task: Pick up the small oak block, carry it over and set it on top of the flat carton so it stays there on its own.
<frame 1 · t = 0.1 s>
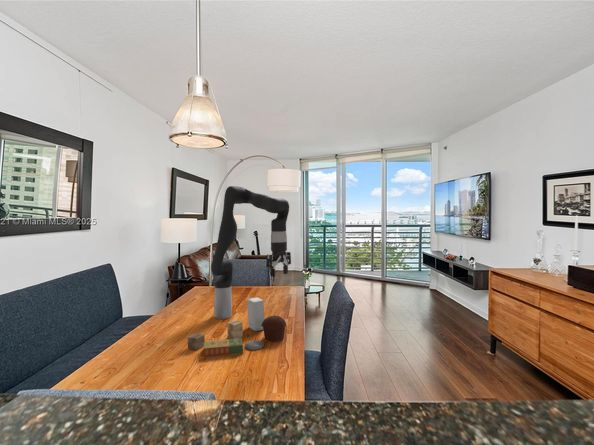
hand: (279, 275, 147), 29 cm above the table, tool pointing down, fingers open, 8 cm apart
grey disc: (254, 346, 137), on the table
walnut block: (196, 347, 137), on the table
carton: (223, 353, 132), on the table
skincare box: (256, 328, 159), on the table
muffin: (274, 338, 146), on the table
oak block: (235, 337, 147), on the table
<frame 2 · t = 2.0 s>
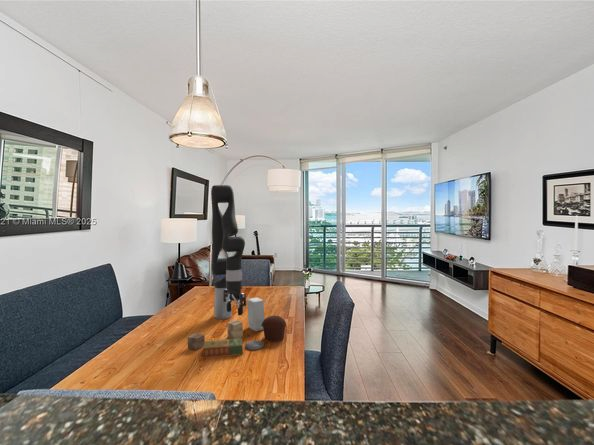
hand: (234, 313, 147), 11 cm above the table, tool pointing down, fingers open, 8 cm apart
nothing on the table moved.
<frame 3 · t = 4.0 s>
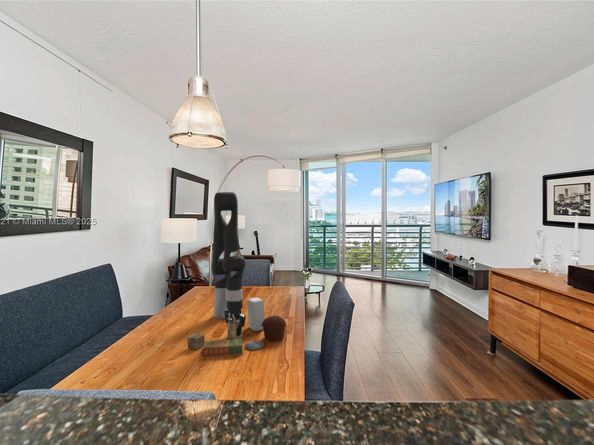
hand: (235, 333, 147), 1 cm above the table, tool pointing down, fingers closed on oak block, 5 cm apart
oak block: (235, 337, 147), on the table, touching gripper
everything else where it was.
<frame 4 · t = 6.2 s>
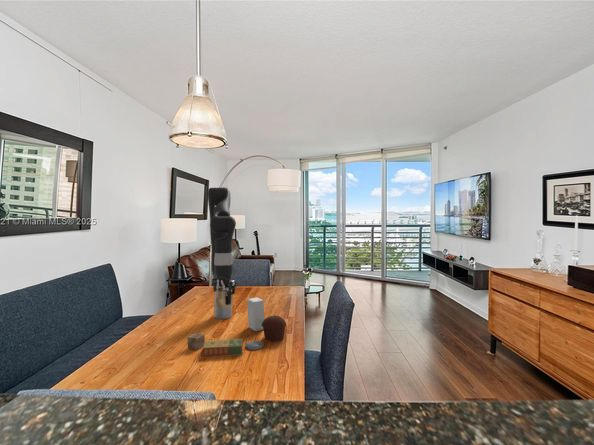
hand: (224, 303, 132), 20 cm above the table, tool pointing down, fingers closed on oak block, 5 cm apart
oak block: (224, 306, 132), point 19 cm above the table, touching gripper
everything else where it was.
when the fingers open (6 cm above the table, at t = 8.6 s): oak block drops 1 cm, resting on carton.
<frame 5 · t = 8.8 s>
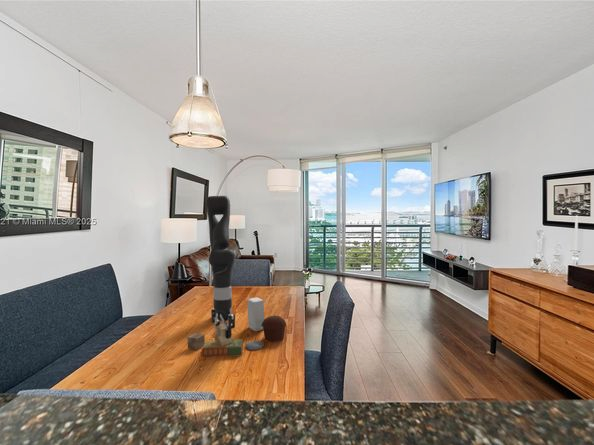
hand: (223, 335, 132), 7 cm above the table, tool pointing down, fingers open, 6 cm apart
carton: (223, 353, 132), on the table, touching oak block
oak block: (223, 342, 132), point 4 cm above the table, touching carton
everything else where it was.
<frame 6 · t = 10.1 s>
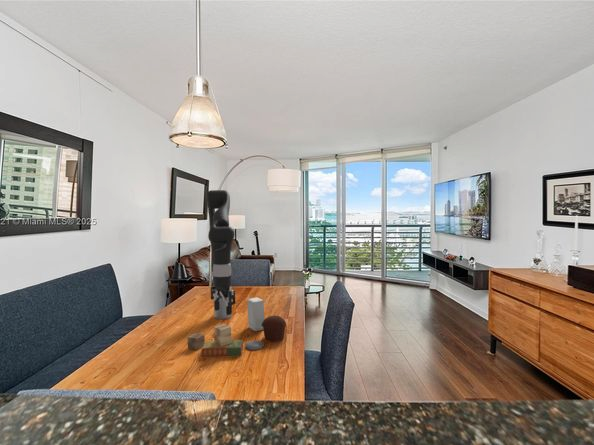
hand: (222, 312, 131), 17 cm above the table, tool pointing down, fingers open, 8 cm apart
nothing on the table moved.
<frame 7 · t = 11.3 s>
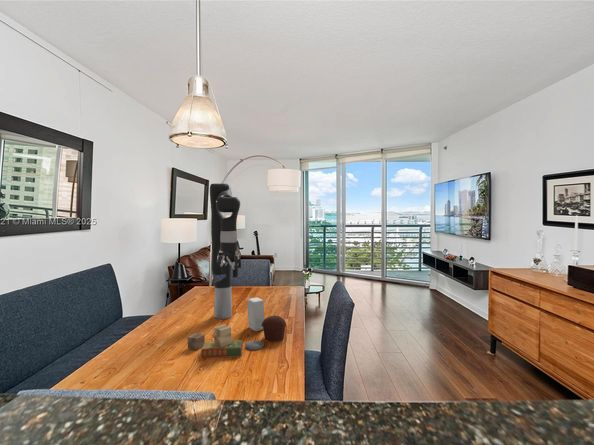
hand: (229, 275, 143), 30 cm above the table, tool pointing down, fingers open, 8 cm apart
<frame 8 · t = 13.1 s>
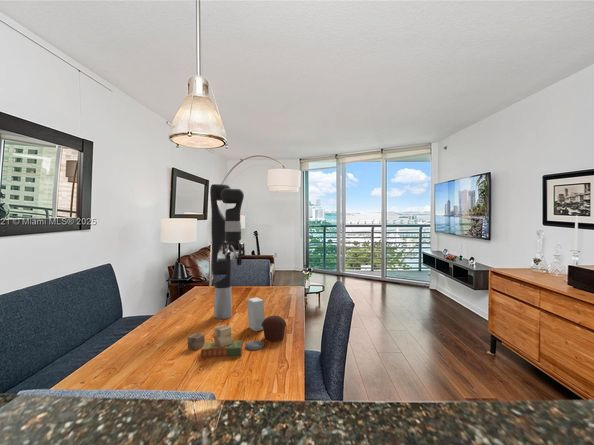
hand: (233, 264, 150), 34 cm above the table, tool pointing down, fingers open, 8 cm apart
at the end: oak block 0.3 cm from the carton (horizontally); oak block point 3.7 cm above the table; oak block tilted 0° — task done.
